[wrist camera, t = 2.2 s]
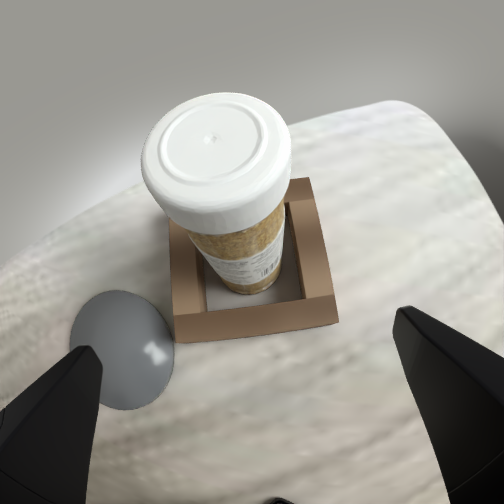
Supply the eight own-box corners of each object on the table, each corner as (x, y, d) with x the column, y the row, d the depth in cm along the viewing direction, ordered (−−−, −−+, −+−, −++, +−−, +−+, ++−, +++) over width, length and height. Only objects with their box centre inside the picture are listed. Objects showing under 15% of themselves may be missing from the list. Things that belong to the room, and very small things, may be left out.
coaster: (132, 431, 17) (128, 433, 17) (58, 352, 19) (54, 352, 19) (199, 343, 19) (196, 343, 18) (113, 269, 21) (109, 267, 21)
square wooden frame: (332, 324, 19) (339, 322, 17) (185, 343, 19) (175, 342, 17) (306, 192, 22) (308, 177, 20) (177, 211, 22) (169, 198, 20)
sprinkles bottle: (250, 221, 21) (221, 70, 9) (295, 264, 20) (326, 135, 7) (204, 263, 21) (112, 148, 8) (247, 310, 20) (197, 245, 7)
